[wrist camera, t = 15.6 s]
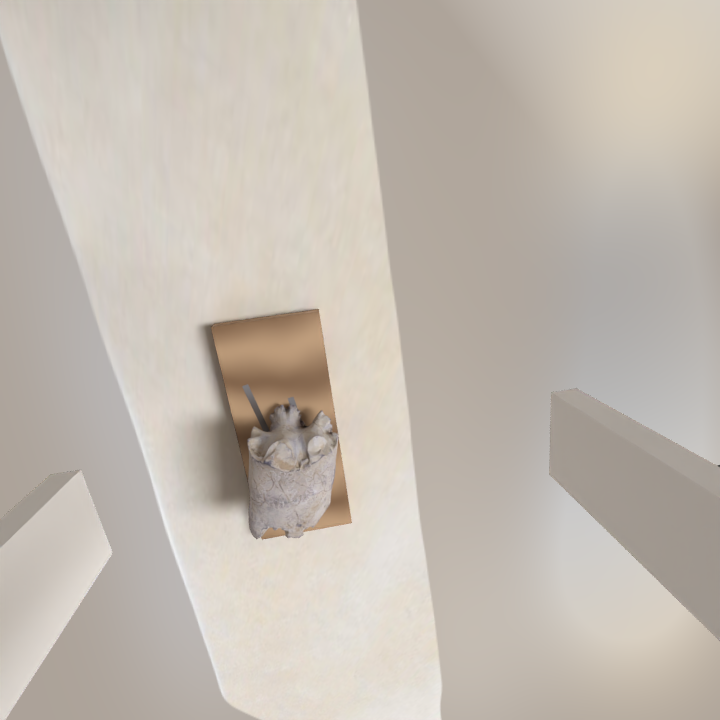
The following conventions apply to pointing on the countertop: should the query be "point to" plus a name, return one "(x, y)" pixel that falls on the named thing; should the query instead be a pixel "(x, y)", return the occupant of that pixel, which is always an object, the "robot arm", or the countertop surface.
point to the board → (279, 385)
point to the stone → (290, 472)
